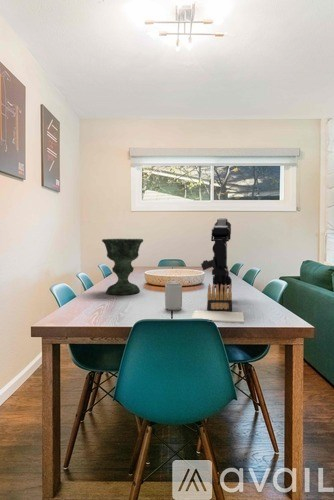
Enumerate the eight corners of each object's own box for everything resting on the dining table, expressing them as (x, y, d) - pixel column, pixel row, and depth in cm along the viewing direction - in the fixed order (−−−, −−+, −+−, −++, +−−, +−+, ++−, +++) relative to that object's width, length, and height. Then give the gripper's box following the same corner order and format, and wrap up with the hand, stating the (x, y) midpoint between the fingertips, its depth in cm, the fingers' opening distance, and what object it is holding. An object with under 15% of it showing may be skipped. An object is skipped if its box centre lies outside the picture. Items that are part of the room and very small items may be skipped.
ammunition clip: (207, 311, 142) (207, 284, 141) (206, 310, 143) (206, 283, 143) (232, 312, 141) (232, 284, 141) (231, 310, 143) (231, 283, 142)
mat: (195, 311, 142) (195, 310, 142) (243, 313, 138) (243, 312, 138) (190, 320, 128) (190, 318, 128) (243, 323, 124) (243, 321, 124)
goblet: (100, 290, 193) (100, 238, 192) (138, 288, 200) (138, 238, 198) (105, 297, 172) (104, 239, 171) (147, 294, 179) (147, 239, 178)
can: (166, 311, 143) (166, 283, 142) (163, 307, 150) (163, 281, 149) (183, 310, 144) (183, 283, 143) (179, 306, 151) (179, 280, 151)
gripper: (204, 252, 159) (204, 284, 160) (200, 255, 141) (200, 291, 142) (227, 252, 157) (227, 285, 158) (226, 255, 139) (226, 292, 139)
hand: (220, 288), depth 149 cm, fingers closed
